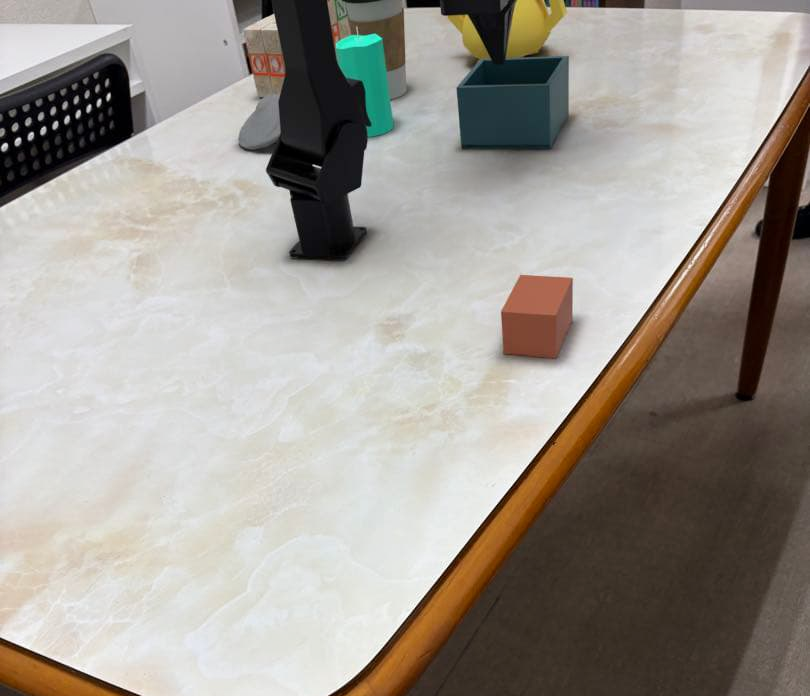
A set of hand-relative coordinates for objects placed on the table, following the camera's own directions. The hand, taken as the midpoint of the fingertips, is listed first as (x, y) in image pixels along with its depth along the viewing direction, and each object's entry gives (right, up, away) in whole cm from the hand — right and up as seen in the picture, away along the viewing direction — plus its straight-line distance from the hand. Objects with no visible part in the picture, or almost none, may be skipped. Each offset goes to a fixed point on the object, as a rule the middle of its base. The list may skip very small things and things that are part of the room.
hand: (499, 63), depth 95 cm
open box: (+1, -4, +5) cm, 6 cm away
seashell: (-28, +1, +21) cm, 35 cm away
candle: (-15, +1, +18) cm, 24 cm away
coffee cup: (-13, +11, +27) cm, 32 cm away
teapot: (+5, +18, +32) cm, 37 cm away
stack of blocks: (-25, +19, +38) cm, 50 cm away
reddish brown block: (+1, -36, -22) cm, 42 cm away
